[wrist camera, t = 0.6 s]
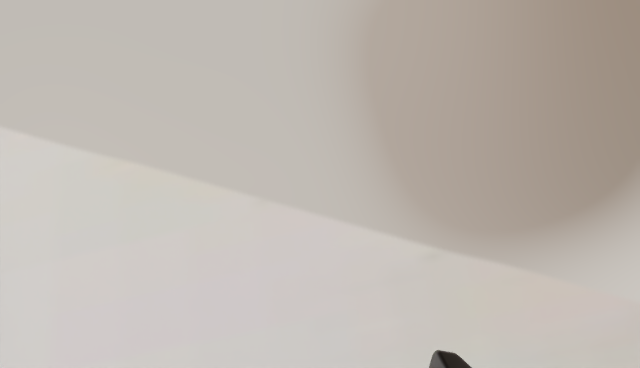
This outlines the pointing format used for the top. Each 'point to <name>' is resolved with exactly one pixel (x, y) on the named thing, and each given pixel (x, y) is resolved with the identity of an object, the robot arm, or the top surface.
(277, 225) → the top surface
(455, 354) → the robot arm
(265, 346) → the top surface
